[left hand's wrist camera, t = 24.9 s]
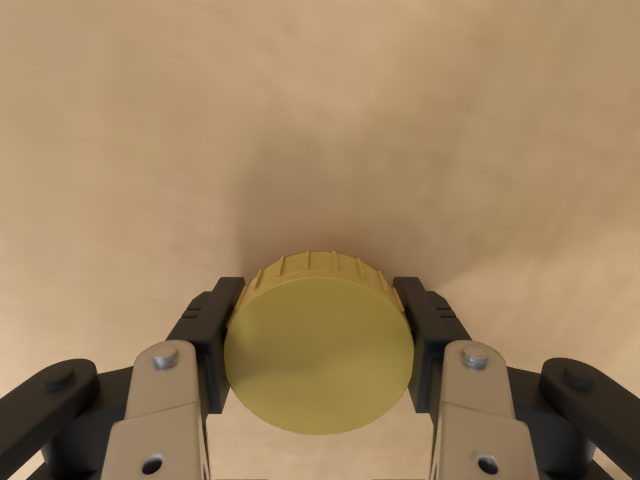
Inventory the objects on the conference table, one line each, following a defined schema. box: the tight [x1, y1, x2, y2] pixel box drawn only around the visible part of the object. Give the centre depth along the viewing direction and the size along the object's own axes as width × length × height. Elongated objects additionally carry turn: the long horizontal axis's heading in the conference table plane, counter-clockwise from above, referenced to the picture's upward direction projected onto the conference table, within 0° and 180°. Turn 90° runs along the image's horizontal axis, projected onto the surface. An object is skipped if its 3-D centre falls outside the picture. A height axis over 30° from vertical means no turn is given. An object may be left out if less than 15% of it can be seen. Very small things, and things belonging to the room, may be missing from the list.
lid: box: [223, 250, 414, 435], centre depth 10 cm, size 5×5×2 cm
